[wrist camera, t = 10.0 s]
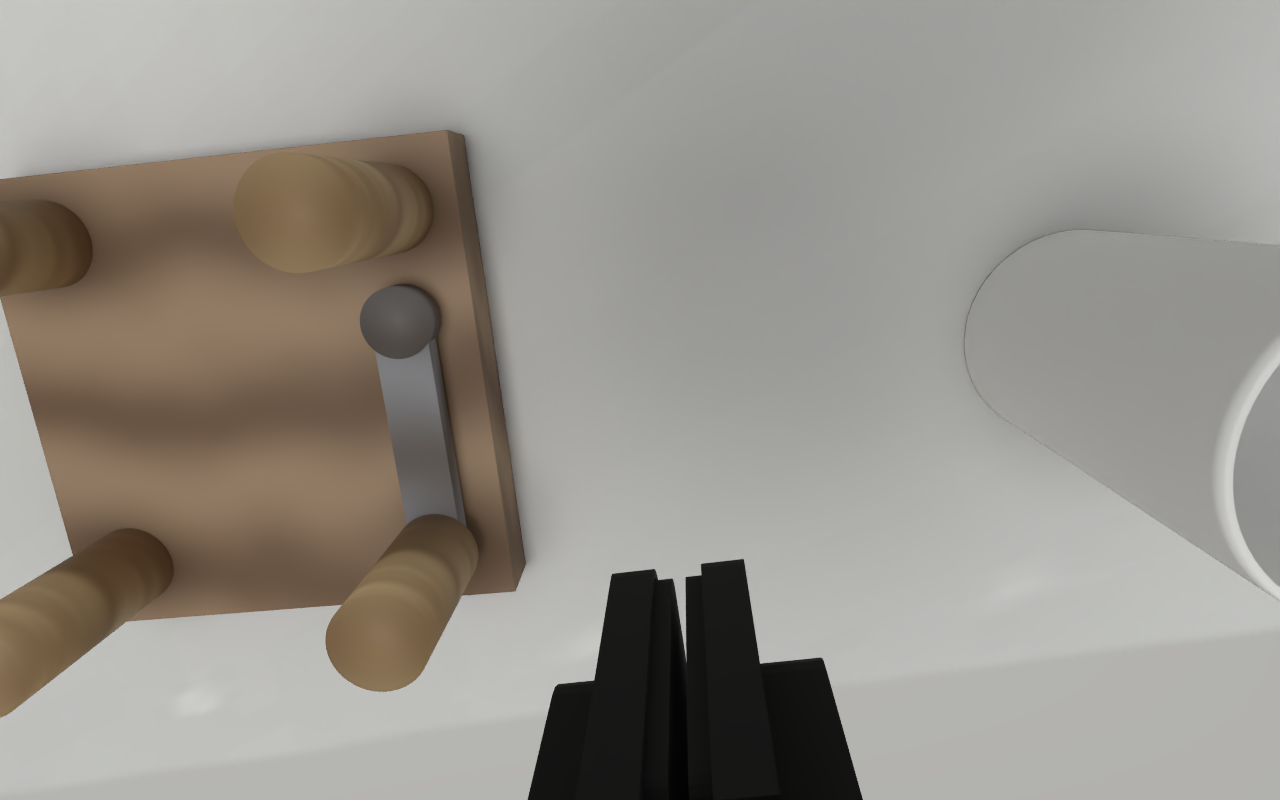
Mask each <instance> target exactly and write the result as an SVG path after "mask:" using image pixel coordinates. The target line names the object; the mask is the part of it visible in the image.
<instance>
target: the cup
mask: <svg viewBox="0 0 1280 800" xmlns="http://www.w3.org/2000/svg"><path fill="white" fill-rule="evenodd" d="M964 348H965V358H966V364H967V368H968V371H969V374H970V377H971V380H972V382H973V384H974V386H975V388H976V390H977V391H978V393H979V394H980V396H981V397H982V398H983V400H984V401H985V402H986V403H987V404H988V406H989V407H990V408H991V409H992V410H993V411H995V412H996V413H997V414H998V415H1000V416H1001V417H1002V418H1004V419H1005V420H1007V421H1008V422H1010V423H1011V424H1013V425H1014V426H1016V427H1017V428H1019V429H1020V430H1022V431H1023V432H1025V433H1026V434H1028V435H1029V436H1031V437H1032V438H1034V439H1035V440H1037V441H1038V442H1040V443H1041V444H1043V445H1044V446H1046V447H1047V448H1049V449H1050V450H1052V451H1054V452H1055V453H1057V454H1058V455H1060V456H1061V457H1063V458H1064V459H1066V460H1067V461H1069V462H1070V463H1072V464H1073V465H1075V466H1076V467H1078V468H1079V469H1081V470H1082V471H1084V472H1085V473H1087V474H1088V475H1090V476H1091V477H1093V478H1094V479H1096V480H1097V481H1099V482H1100V483H1102V484H1103V485H1105V486H1106V487H1108V488H1109V489H1111V490H1112V491H1114V492H1115V493H1117V494H1118V495H1120V496H1121V497H1123V498H1124V499H1126V500H1127V501H1129V502H1130V503H1132V504H1133V505H1135V506H1136V507H1138V508H1139V509H1141V510H1142V511H1144V512H1145V513H1147V514H1148V515H1150V516H1151V517H1153V518H1154V519H1156V520H1157V521H1159V522H1160V523H1162V524H1163V525H1165V526H1166V527H1168V528H1169V529H1171V530H1172V531H1174V532H1175V533H1177V534H1178V535H1180V536H1181V537H1183V538H1184V539H1186V540H1187V541H1189V542H1190V543H1192V544H1193V545H1195V546H1196V547H1198V548H1199V549H1201V550H1202V551H1204V552H1206V553H1207V554H1209V555H1210V556H1212V557H1213V558H1215V559H1216V560H1218V561H1219V562H1221V563H1222V564H1224V565H1225V566H1227V567H1228V568H1230V569H1231V570H1233V571H1234V572H1236V573H1237V574H1239V575H1240V576H1242V577H1243V578H1245V579H1246V580H1248V581H1249V582H1251V583H1253V584H1254V585H1256V586H1257V587H1259V588H1260V589H1262V590H1263V591H1265V592H1266V593H1268V594H1269V595H1271V596H1272V597H1274V598H1275V599H1277V600H1278V601H1280V245H1271V244H1258V243H1246V242H1233V241H1221V240H1208V239H1196V238H1184V237H1171V236H1159V235H1146V234H1134V233H1121V232H1109V231H1096V230H1070V231H1063V232H1058V233H1054V234H1050V235H1047V236H1044V237H1041V238H1039V239H1037V240H1034V241H1032V242H1030V243H1028V244H1026V245H1024V246H1023V247H1021V248H1020V249H1018V250H1016V251H1015V252H1013V253H1012V254H1011V255H1010V256H1008V257H1007V258H1006V259H1005V260H1004V261H1002V262H1001V263H1000V264H999V265H998V266H997V267H996V268H995V269H994V271H993V272H992V273H991V274H990V275H989V276H988V278H987V279H986V281H985V282H984V283H983V285H982V286H981V288H980V290H979V291H978V293H977V295H976V297H975V299H974V301H973V304H972V306H971V309H970V312H969V315H968V319H967V323H966V329H965V339H964Z"/></svg>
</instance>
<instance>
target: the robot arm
mask: <svg viewBox="0 0 1280 800" xmlns="http://www.w3.org/2000/svg"><path fill="white" fill-rule="evenodd" d="M701 572H702V575H701V576H692V577H686V649H687V663H686V657H685V650H684V644H683V637H682V631H681V624H680V618H679V612H678V605H677V599H676V592H675V586H674V582H673V579H665V580H658V578H657V574H656V571H655V569H652V570H643V571H634V572H625V573H616V574H612V576H611V582H610V588H609V594H608V600H607V606H606V612H605V619H604V625H603V631H602V637H601V643H600V649H599V656H598V662H597V668H596V674H595V680H594V681H586V682H576V683H566V684H558V685H557V686H556V687H555V689H554V692H553V695H552V699H551V703H550V707H549V711H548V716H547V720H546V724H545V728H544V733H543V737H542V741H541V745H540V750H539V754H538V759H537V763H536V767H535V771H534V775H533V779H532V784H531V788H530V792H529V796H528V800H863V799H862V795H861V792H860V788H859V785H858V781H857V778H856V774H855V771H854V767H853V763H852V760H851V756H850V753H849V749H848V745H847V742H846V738H845V735H844V731H843V728H842V724H841V720H840V717H839V713H838V710H837V706H836V703H835V699H834V696H833V692H832V688H831V685H830V681H829V678H828V674H827V671H826V667H825V664H824V661H823V659H822V658H813V659H803V660H793V661H783V662H773V663H763V664H760V661H759V655H758V648H757V642H756V635H755V629H754V623H753V616H752V610H751V603H750V597H749V590H748V584H747V577H746V571H745V564H744V559H740V560H732V561H723V562H714V563H705V564H701Z"/></svg>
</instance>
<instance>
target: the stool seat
mask: <svg viewBox="0 0 1280 800" xmlns="http://www.w3.org/2000/svg"><path fill="white" fill-rule="evenodd" d="M396 284H411V285H414V286H417V287H419V288H421V289H423V290H424V291H426V292H427V293H428V294H429V295H430V296H431V297H432V298H433V300H434V301H435V303H436V305H437V307H438V309H439V313H440V329H439V332H438V335H437V337H436V342H437V349H438V355H439V361H440V367H441V373H442V379H443V385H444V391H445V397H446V404H447V410H448V416H449V422H450V428H451V434H452V440H453V446H454V452H455V459H456V465H457V471H458V477H459V483H460V489H461V495H462V501H463V508H464V514H465V520H466V526H467V528H468V530H469V531H470V532H471V533H472V535H473V537H474V539H475V541H476V543H477V547H478V554H479V555H478V563H477V567H476V569H475V571H474V573H473V575H472V577H471V579H470V581H469V583H468V585H467V587H466V589H465V591H464V592H463V594H462V595H474V594H487V593H500V592H513V591H516V588H517V586H518V583H519V581H520V578H521V575H522V573H523V570H524V568H525V565H526V564H525V557H524V550H523V543H522V536H521V529H520V522H519V516H518V509H517V502H516V495H515V488H514V481H513V474H512V467H511V460H510V453H509V446H508V439H507V432H506V425H505V418H504V412H503V405H502V398H501V391H500V384H499V377H498V370H497V363H496V356H495V349H494V342H493V335H492V328H491V321H490V314H489V308H488V301H487V294H486V287H485V280H484V273H483V266H482V259H481V252H480V245H479V238H478V231H477V224H476V217H475V210H474V204H473V197H472V190H471V183H470V176H469V169H468V162H467V155H466V148H465V141H464V135H461V134H458V133H454V132H451V131H448V130H444V131H435V132H426V133H417V134H408V135H399V136H390V137H381V138H371V139H362V140H353V141H344V142H335V143H326V144H317V145H308V146H299V147H290V148H280V149H271V150H262V151H253V152H244V153H235V154H226V155H217V156H208V157H199V158H189V159H180V160H171V161H162V162H153V163H144V164H135V165H126V166H117V167H108V168H98V169H89V170H80V171H71V172H62V173H53V174H44V175H35V176H26V177H17V178H7V179H0V299H1V302H2V306H3V310H4V313H5V317H6V320H7V324H8V327H9V331H10V334H11V338H12V341H13V345H14V348H15V352H16V355H17V359H18V363H19V366H20V370H21V373H22V377H23V380H24V384H25V387H26V391H27V394H28V398H29V401H30V405H31V409H32V412H33V416H34V419H35V423H36V426H37V430H38V433H39V437H40V440H41V444H42V447H43V451H44V454H45V458H46V462H47V465H48V469H49V472H50V476H51V479H52V483H53V486H54V490H55V493H56V497H57V500H58V504H59V507H60V511H61V515H62V518H63V522H64V525H65V529H66V532H67V536H68V539H69V543H70V546H71V550H72V553H73V556H72V557H70V558H68V559H67V560H65V561H63V562H62V563H60V564H59V565H57V566H55V567H54V568H52V569H50V570H49V571H47V572H45V573H44V574H42V575H40V576H39V577H37V578H35V579H34V580H32V581H30V582H29V583H27V584H25V585H24V586H22V587H20V588H19V589H17V590H15V591H14V592H12V593H10V594H9V595H7V596H6V597H4V598H2V599H1V600H0V717H3V716H5V715H7V714H9V713H10V712H12V711H13V710H14V709H16V708H17V707H18V706H19V705H21V704H22V703H23V702H25V701H26V700H27V699H28V698H30V697H31V696H32V695H33V694H35V693H36V692H37V691H39V690H40V689H41V688H42V687H44V686H45V685H46V684H47V683H49V682H50V681H51V680H53V679H54V678H55V677H56V676H58V675H59V674H60V673H61V672H63V671H64V670H65V669H67V668H68V667H69V666H70V665H72V664H73V663H74V662H76V661H77V660H78V659H79V658H81V657H82V656H83V655H84V654H86V653H87V652H88V651H90V650H91V649H92V648H93V647H95V646H96V645H97V644H98V643H100V642H101V641H102V640H104V639H105V638H106V637H107V636H109V635H110V634H111V633H112V632H114V631H115V630H116V629H118V628H119V627H120V626H121V625H123V624H124V623H125V622H127V621H138V620H150V619H163V618H176V617H189V616H202V615H215V614H228V613H241V612H254V611H267V610H280V609H293V608H306V607H319V606H332V605H343V604H344V602H345V601H346V600H347V599H348V597H349V596H350V595H351V593H352V592H353V591H354V590H355V588H356V587H357V586H358V585H359V583H360V582H361V581H362V580H363V578H364V577H365V576H366V575H367V573H368V572H369V571H370V570H371V568H372V567H373V566H374V565H375V563H376V562H377V561H378V560H379V558H380V557H381V556H382V555H383V553H384V552H385V551H386V550H387V548H388V547H389V546H390V545H391V543H392V542H393V541H394V540H395V538H396V537H397V536H398V535H399V533H400V532H401V531H402V530H403V528H404V527H405V526H406V525H407V524H406V519H405V513H404V508H403V502H402V497H401V491H400V486H399V480H398V475H397V469H396V464H395V458H394V453H393V447H392V442H391V436H390V431H389V425H388V420H387V414H386V409H385V403H384V398H383V392H382V387H381V381H380V376H379V370H378V365H377V359H376V354H375V351H374V350H373V349H372V348H371V347H370V346H369V345H368V343H367V342H366V340H365V339H364V337H363V334H362V332H361V328H360V313H361V309H362V307H363V305H364V303H365V301H366V300H367V299H368V298H369V297H370V296H371V295H372V294H373V293H375V292H376V291H378V290H380V289H384V288H387V287H390V286H393V285H396Z"/></svg>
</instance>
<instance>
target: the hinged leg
mask: <svg viewBox="0 0 1280 800" xmlns="http://www.w3.org/2000/svg"><path fill="white" fill-rule="evenodd" d="M360 328H361V332H362V334H363V337H364V339H365V340H366V342H367V343H368V345H369V346H370V347H371V348H372V349H373V350H374V351H375V354H376V359H377V365H378V370H379V376H380V381H381V387H382V392H383V398H384V403H385V409H386V414H387V420H388V425H389V431H390V436H391V442H392V447H393V453H394V458H395V464H396V469H397V475H398V480H399V486H400V491H401V497H402V502H403V508H404V513H405V519H406V524H407V525H406V526H405V527H404V528H403V530H402V531H401V532H400V533H399V535H398V536H397V537H396V538H395V540H394V541H393V542H392V543H391V545H390V546H389V547H388V548H387V550H386V551H385V552H384V553H383V555H382V556H381V557H380V558H379V560H378V561H377V562H376V563H375V565H374V566H373V567H372V568H371V570H370V571H369V572H368V573H367V575H366V576H365V577H364V578H363V580H362V581H361V582H360V583H359V585H358V586H357V587H356V588H355V590H354V591H353V592H352V593H351V595H350V596H349V597H348V599H347V600H346V601H345V602H344V604H343V605H342V606H341V607H340V609H339V610H338V611H337V612H336V614H335V615H334V616H333V618H332V619H331V621H330V623H329V625H328V628H327V632H326V649H327V653H328V656H329V658H330V660H331V662H332V664H333V666H334V667H335V668H336V670H337V671H338V672H339V673H340V674H341V675H342V676H343V677H344V678H345V679H347V680H348V681H349V682H351V683H352V684H354V685H356V686H358V687H361V688H364V689H366V690H371V691H378V692H387V691H393V690H397V689H400V688H403V687H405V686H407V685H409V684H410V683H412V682H413V681H414V680H416V679H417V677H418V676H419V675H420V674H421V673H422V671H423V670H424V668H425V666H426V664H427V662H428V660H429V658H430V656H431V654H432V652H433V650H434V648H435V646H436V645H437V643H438V641H439V639H440V637H441V635H442V633H443V631H444V629H445V627H446V625H447V623H448V621H449V619H450V618H451V616H452V614H453V612H454V610H455V608H456V606H457V604H458V602H459V600H460V598H461V596H462V594H463V592H464V591H465V589H466V587H467V585H468V583H469V581H470V579H471V577H472V575H473V573H474V571H475V569H476V567H477V563H478V555H479V554H478V547H477V543H476V541H475V539H474V537H473V535H472V533H471V532H470V531H469V530H468V528H467V526H466V520H465V514H464V508H463V501H462V495H461V489H460V483H459V477H458V471H457V465H456V459H455V452H454V446H453V440H452V434H451V428H450V422H449V416H448V410H447V404H446V397H445V391H444V385H443V379H442V373H441V367H440V361H439V355H438V349H437V342H436V337H437V335H438V332H439V329H440V313H439V309H438V307H437V305H436V303H435V301H434V300H433V298H432V297H431V296H430V295H429V294H428V293H427V292H426V291H424V290H423V289H421V288H419V287H417V286H414V285H411V284H396V285H393V286H390V287H387V288H384V289H380V290H378V291H376V292H375V293H373V294H372V295H371V296H370V297H369V298H368V299H367V300H366V301H365V303H364V305H363V307H362V309H361V313H360Z"/></svg>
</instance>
